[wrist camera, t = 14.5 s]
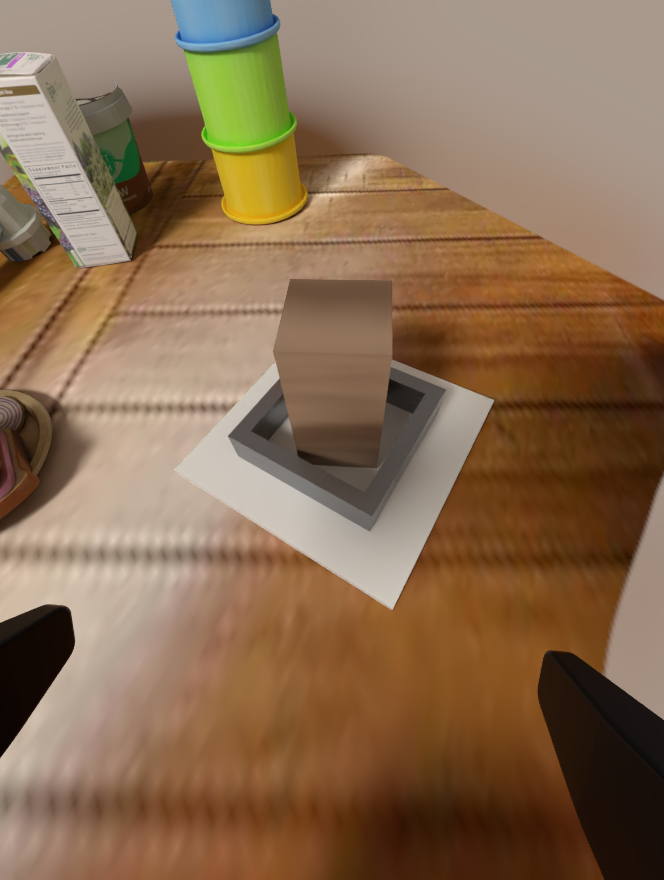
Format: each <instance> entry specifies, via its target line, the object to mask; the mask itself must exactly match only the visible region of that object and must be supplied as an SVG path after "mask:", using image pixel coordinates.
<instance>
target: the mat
mask: <svg viewBox="0 0 664 880" xmlns="http://www.w3.org/2000/svg"><path fill="white" fill-rule="evenodd" d="M391 367H392V368H395V369H397V370H400V371H402V372H405V373H407V374H410V375H412V376H414V377H417V378H419V379H422V380H424V381H427V382H429V383H432V384H434V385H437V386H439V387H442V388H444V389H446V392H445V394H444V397H443V400H442V403H441V406H440V409H439V412H438V414H437V416H436V417H435V419H434V421H433V423H432V424H431V426H430V428H429V430H428V431H427V433H426V435H425V437H424V438H423V440H422V442H421V443H420V445H419V447H418V449H417V450H416V452H415V454H414V456H413V457H412V459H411V461H410V463H409V464H408V466H407V468H406V470H405V471H404V473H403V475H402V477H401V478H400V480H399V482H398V484H397V485H396V487H395V489H394V491H393V492H392V494H391V496H390V498H389V499H388V501H387V503H386V505H385V506H384V508H383V510H382V512H381V513H380V515H379V517H378V519H377V520H376V522H375V524H374V526H373V527H372V529H371V531H370V532H369V531H368V530H366V529H364V528H362V527H361V526H359V525H357V524H355V523H354V522H352V521H350V520H348V519H347V518H345V517H343V516H341V515H340V514H338V513H336V512H334V511H333V510H331V509H329V508H327V507H326V506H324V505H322V504H321V503H319V502H317V501H315V500H314V499H312V498H310V497H308V496H307V495H305V494H303V493H301V492H300V491H298V490H296V489H294V488H293V487H291V486H289V485H287V484H286V483H284V482H282V481H280V480H279V479H277V478H275V477H273V476H272V475H270V474H268V473H266V472H265V471H263V470H261V469H260V468H258V467H256V466H254V465H253V464H251V463H249V462H247V461H246V460H244V459H242V458H240V457H239V456H238V455H237V453H236V451H235V449H234V447H233V445H232V443H231V441H230V440H229V438H228V435H229V434H230V433H231V432H232V431H233V430H234V428H235V427H236V426H237V425H238V424H239V423H240V422H241V421H242V420H243V418H244V417H245V416H246V415H247V414H248V413H249V412H250V411H251V410H252V408H253V407H254V406H255V405H256V404H257V403H258V402H259V401H260V399H261V398H262V397H263V396H264V395H265V394H266V393H267V392H268V391H269V389H270V388H271V387H272V386H273V385H274V384H275V383H276V382H277V381H278V379H279V374H278V369H277V365H276V362H275V363H274V364H273V365H272V366H271V367H270V368H269V369H268V370H267V371H266V372H265V374H264V375H263V376H262V377H261V378H260V379H259V380H258V381H257V382H256V383H255V384H254V385H253V386H252V387H251V389H250V390H249V391H248V392H247V393H246V394H245V395H244V396H243V397H242V398H241V399H240V400H239V401H238V402H237V404H236V405H235V406H234V407H233V408H232V409H231V410H230V411H229V412H228V413H227V414H226V415H225V416H224V417H223V419H222V420H221V421H220V422H219V423H218V424H217V425H216V426H215V427H214V428H213V429H212V430H211V431H210V432H209V433H208V435H207V436H206V437H205V438H204V439H203V440H202V441H201V442H200V443H199V444H198V445H197V446H196V447H195V448H194V450H193V451H192V452H191V453H190V454H189V455H188V456H187V457H186V458H185V459H184V460H183V461H182V462H181V463H180V465H179V466H178V467H177V468H176V469H175V470H174V471H175V472H176V473H177V474H178V475H180V476H181V477H183V478H185V479H186V480H188V481H189V482H191V483H192V484H194V485H196V486H197V487H199V488H200V489H202V490H203V491H205V492H207V493H208V494H210V495H211V496H213V497H214V498H216V499H218V500H219V501H221V502H222V503H224V504H225V505H227V506H229V507H230V508H232V509H233V510H235V511H236V512H238V513H240V514H241V515H243V516H244V517H246V518H247V519H249V520H251V521H252V522H254V523H255V524H257V525H258V526H260V527H262V528H263V529H265V530H266V531H268V532H269V533H271V534H273V535H274V536H276V537H277V538H279V539H280V540H282V541H284V542H285V543H287V544H288V545H290V546H291V547H293V548H295V549H296V550H298V551H299V552H301V553H303V554H304V555H306V556H307V557H309V558H310V559H312V560H314V561H315V562H317V563H318V564H320V565H321V566H323V567H325V568H326V569H328V570H329V571H331V572H332V573H334V574H336V575H337V576H339V577H340V578H342V579H343V580H345V581H347V582H348V583H350V584H351V585H353V586H354V587H356V588H358V589H359V590H361V591H362V592H364V593H365V594H367V595H369V596H370V597H372V598H373V599H375V600H376V601H378V602H380V603H381V604H383V605H384V606H386V607H387V608H389V609H391V610H393V608H394V606H395V604H396V602H397V600H398V598H399V596H400V594H401V591H402V589H403V587H404V585H405V583H406V581H407V579H408V577H409V575H410V573H411V571H412V569H413V567H414V565H415V563H416V561H417V559H418V556H419V554H420V552H421V550H422V548H423V546H424V544H425V542H426V540H427V538H428V536H429V534H430V532H431V530H432V528H433V526H434V524H435V521H436V519H437V517H438V515H439V513H440V511H441V509H442V507H443V505H444V503H445V501H446V499H447V497H448V495H449V493H450V491H451V489H452V487H453V484H454V482H455V480H456V478H457V476H458V474H459V472H460V470H461V468H462V466H463V464H464V462H465V460H466V458H467V456H468V454H469V452H470V449H471V447H472V445H473V443H474V441H475V439H476V437H477V435H478V433H479V431H480V429H481V427H482V425H483V423H484V421H485V419H486V417H487V415H488V412H489V410H490V408H491V406H492V404H493V402H494V400H493V399H490V398H488V397H485V396H483V395H480V394H478V393H475V392H473V391H470V390H468V389H465V388H463V387H460V386H458V385H455V384H452V383H450V382H447V381H445V380H442V379H440V378H437V377H435V376H432V375H430V374H427V373H425V372H422V371H420V370H417V369H415V368H412V367H410V366H407V365H405V364H402V363H400V362H397V361H395V360H392V362H391ZM412 415H413V414H412V413H410V412H407V411H405V410H403V409H401V408H398V407H396V406H394V405H391V404H389V403H387V402H386V405H385V413H384V420H383V427H382V434H381V442H380V449H379V456H378V463H377V468H360V467H342V466H324V465H314V466H316V467H318V468H320V469H322V470H324V471H326V472H327V473H329V474H331V475H333V476H335V477H337V478H339V479H340V480H342V481H344V482H346V483H348V484H350V485H352V486H353V487H355V488H357V489H359V490H361V491H363V492H365V491H366V490H367V488H368V487H369V485H370V483H371V482H372V480H373V478H374V477H375V475H376V474H377V472H378V470H379V469H380V467H381V465H382V464H383V462H384V461H385V459H386V457H387V456H388V454H389V452H390V451H391V449H392V448H393V446H394V444H395V443H396V441H397V439H398V438H399V436H400V434H401V433H402V431H403V430H404V428H405V426H406V425H407V423H408V421H409V420H410V418H411V417H412ZM268 441H270V442H272V443H274V444H275V445H277V446H279V447H281V448H283V449H285V450H287V451H288V452H290V453H292V454H294V455H296V456H298V453H297V449H296V445H295V441H294V436H293V432H292V428H291V424H290V420H289V416H288V417H287V419H286V420H285V421H284V422H283V423H282V425H281V426H280V427H279V428H278V429H277V431H276V432H275V433H274V434H273V436H272V437H271V438H270V439H269V440H268Z"/></svg>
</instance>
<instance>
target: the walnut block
mask: <svg viewBox="0 0 664 880" xmlns="http://www.w3.org/2000/svg"><path fill="white" fill-rule="evenodd" d="M273 353H274V357H275V361H276V365H277V369H278V374H279V378H280V382H281V386H282V390H283V395H284V399H285V403H286V407H287V411H288V415H289V420H290V424H291V428H292V432H293V436H294V441H295V445H296V449H297V453H298V457H300V458H301V459H303V460H305V461H307V462H309V463H311V464H313V465H324V466H342V467H360V468H377V463H378V456H379V449H380V442H381V434H382V427H383V420H384V413H385V405H386V398H387V391H388V384H389V376H390V369H391V362H392V281H377V280H311V279H290V282H289V287H288V291H287V295H286V299H285V304H284V308H283V312H282V316H281V320H280V325H279V329H278V333H277V337H276V342H275V346H274V350H273Z"/></svg>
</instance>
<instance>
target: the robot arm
mask: <svg viewBox="0 0 664 880" xmlns="http://www.w3.org/2000/svg"><path fill="white" fill-rule="evenodd" d="M74 646H75V636H74V629H73V622H72V616H71V611H70V609H69V608H68V607H66V606H63V605H52V604H47V605H43V606H40V607H38V608H35V609H33V610H30V611H28V612H25V613H23V614H21V615H18V616H16V617H13V618H11V619H8V620H6V621H3V622H1V623H0V758H1V756H2V755H3V754H4V752H5V751H6V750H7V748H8V747H9V746H10V744H11V743H12V742H13V740H14V739H15V737H16V736H17V734H18V733H19V732H20V730H21V729H22V727H23V726H24V724H25V723H26V721H27V720H28V718H29V717H30V715H31V714H32V712H33V711H34V709H35V708H36V706H37V705H38V703H39V702H40V701H41V699H42V698H43V696H44V695H45V693H46V692H47V690H48V689H49V687H50V686H51V684H52V683H53V681H54V680H55V678H56V677H57V675H58V674H59V672H60V671H61V669H62V668H63V666H64V665H65V663H66V662H67V660H68V659H69V657H70V656H71V654H72V652H73V649H74ZM538 699H539V703H540V707H541V710H542V713H543V716H544V719H545V722H546V725H547V728H548V731H549V733H550V736H551V739H552V742H553V745H554V748H555V751H556V754H557V757H558V760H559V763H560V766H561V769H562V772H563V775H564V778H565V781H566V784H567V787H568V790H569V793H570V796H571V799H572V802H573V804H574V807H575V810H576V813H577V815H578V818H579V820H580V823H581V825H582V828H583V830H584V833H585V835H586V837H587V840H588V842H589V844H590V847H591V849H592V851H593V854H594V856H595V858H596V861H597V863H598V866H599V868H600V870H601V873H602V875H603V877H604V880H664V720H663V719H662V718H660V717H659V716H657V715H656V714H655V713H653V712H652V711H651V710H649V709H648V708H647V707H645V706H644V705H643V704H641V703H640V702H638V701H637V700H636V699H634V698H633V697H632V696H630V695H629V694H628V693H626V692H625V691H624V690H622V689H621V688H619V687H618V686H617V685H615V684H614V683H613V682H611V681H610V680H609V679H607V678H606V677H605V676H603V675H602V674H600V673H599V672H598V671H596V670H595V669H594V668H592V667H591V666H590V665H588V664H587V663H586V662H584V661H583V660H581V659H580V658H579V657H577V656H576V655H574V654H573V653H570V652H562V651H547V652H546V653H545V655H544V657H543V662H542V667H541V672H540V678H539V683H538Z"/></svg>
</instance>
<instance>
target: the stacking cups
mask: <svg viewBox="0 0 664 880" xmlns="http://www.w3.org/2000/svg"><path fill="white" fill-rule="evenodd" d="M171 3H172V7H173V10H174V14H175V17H176V21H177V24H178V28H179V31H178V32H177V33H176V35H175V41H176V43H177V45H178V46H179V47H181V48H182V49H184V52H185V56H186V59H187V63H188V67H189V70H190V74H191V77H192V80H193V84H194V87H195V91H196V94H197V98H198V101H199V105H200V108H201V111H202V115H203V118H204V122H205V127H204V128H203V130H202V138H203V141H204V142H205V144H206V145H207V146H209V147H210V148H211V149H212V153H213V156H214V160H215V163H216V167H217V170H218V174H219V177H220V181H221V184H222V188H223V192H224V196H223V199H222V209H223V212H224V213H225V214H226V216H227V217H229V218H230V219H232V220H234V221H236V222H239V223H243V224H250V225H262V224H270V223H274V222H278V221H281V220H284V219H287V218H289V217H291V216H292V215H294V214H296V213H297V212H298V211H300V210H301V209H302V207H303V206H304V205H305V203H306V201H307V198H308V193H307V189H306V187H305V186H304V185H303V184H302V183H301V182H300V177H299V170H298V163H297V155H296V148H295V141H294V131H295V129H296V126H297V120H296V117H295V116H294V114H293V113H291V112H290V111H289V110H288V104H287V97H286V90H285V83H284V77H283V70H282V63H281V56H280V49H279V42H278V36H277V32H278V30H279V28H280V20H279V18H278V17H277V16H276V15H274V14H272V9H271V3H270V0H171Z"/></svg>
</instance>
